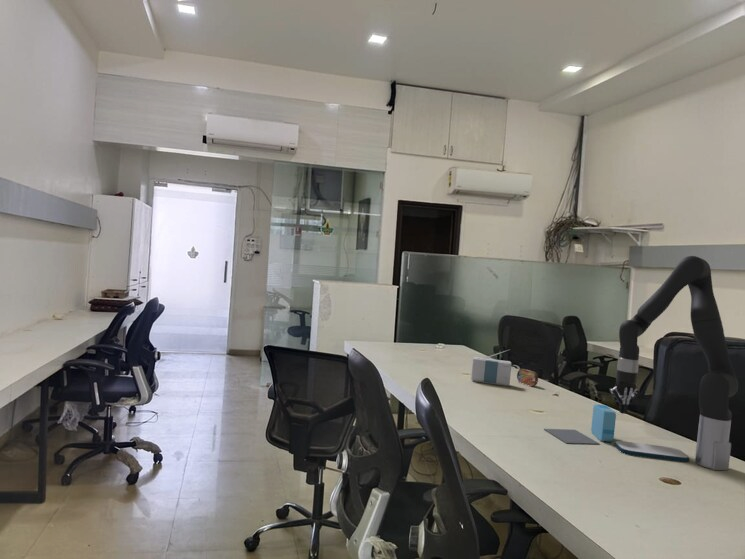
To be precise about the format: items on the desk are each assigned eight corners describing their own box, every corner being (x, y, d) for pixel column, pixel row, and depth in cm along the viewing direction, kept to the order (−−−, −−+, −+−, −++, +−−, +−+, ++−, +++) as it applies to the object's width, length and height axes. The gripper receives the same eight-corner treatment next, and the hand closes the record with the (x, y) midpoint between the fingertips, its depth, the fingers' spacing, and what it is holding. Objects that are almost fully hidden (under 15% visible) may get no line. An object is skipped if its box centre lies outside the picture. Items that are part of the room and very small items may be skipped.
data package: (613, 443, 199) (616, 412, 199) (601, 442, 199) (604, 411, 199) (602, 433, 211) (605, 404, 211) (590, 432, 211) (593, 403, 211)
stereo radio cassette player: (470, 381, 291) (474, 346, 291) (472, 379, 299) (475, 344, 299) (509, 387, 285) (512, 351, 285) (509, 384, 293) (513, 349, 293)
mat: (599, 444, 196) (599, 443, 196) (566, 443, 193) (566, 442, 193) (575, 430, 212) (575, 429, 212) (543, 429, 209) (543, 428, 209)
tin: (516, 381, 304) (517, 367, 304) (520, 381, 305) (521, 367, 305) (534, 387, 290) (535, 372, 290) (538, 387, 291) (539, 372, 291)
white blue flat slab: (622, 455, 187) (623, 450, 187) (611, 445, 198) (612, 439, 198) (692, 464, 184) (692, 458, 184) (677, 453, 196) (677, 448, 196)
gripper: (618, 371, 201) (613, 415, 202) (648, 372, 204) (643, 416, 204) (606, 367, 209) (602, 409, 209) (635, 368, 211) (631, 411, 212)
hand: (622, 413), depth 207 cm, fingers closed
